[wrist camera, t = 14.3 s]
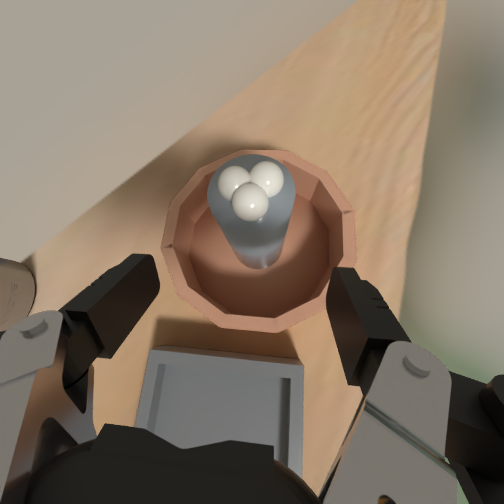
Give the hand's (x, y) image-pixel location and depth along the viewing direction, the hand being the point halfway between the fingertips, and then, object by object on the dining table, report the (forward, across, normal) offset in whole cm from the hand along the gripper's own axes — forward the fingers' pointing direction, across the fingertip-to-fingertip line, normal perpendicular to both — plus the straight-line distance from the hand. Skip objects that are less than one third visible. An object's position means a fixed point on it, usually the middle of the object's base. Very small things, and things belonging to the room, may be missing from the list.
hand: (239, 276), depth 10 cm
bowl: (+12, 0, +5) cm, 13 cm away
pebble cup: (+11, 0, +4) cm, 12 cm away
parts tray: (0, +2, +17) cm, 17 cm away
